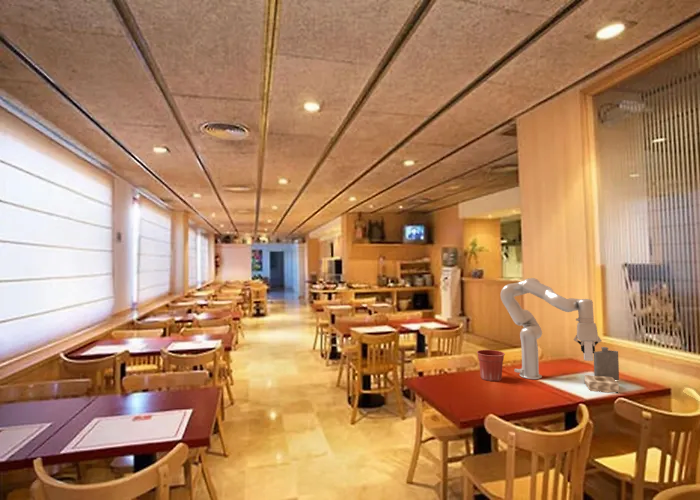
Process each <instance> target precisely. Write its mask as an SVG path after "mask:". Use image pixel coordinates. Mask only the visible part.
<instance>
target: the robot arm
mask: <svg viewBox="0 0 700 500" xmlns="http://www.w3.org/2000/svg"><path fill="white" fill-rule="evenodd" d="M499 294H500V301H501V302H502V304H503V306H504V307H505V309H506V311H507V313H509V317H511V319H512V321H513V322H514V324H515V325H517V326H522V327H523V328H521V330H520V332H519V337H520V343H521V344H520V345H521V367H520V368H514V373H517V374H518V373H519V376H520V377H521V378H523V379H527V380H540V379H542V377H543V376H542V374H540V372H539V371H540V370H539V366H540V364H539V347H538V339H540V338H541V337H542V334H543V329H542V327H541V325H540V323H538V321H537V319H536V318H535V316H534V315H533V313H532V312H531V311H530V310H527V309H523V308H522V306H521V305H520V303H519V302H518V300H517V299H516V298H515V297H518V296H523V295H525V294H531V295H534V296H535V297H537V298H540V300H541V299H542V300H543V301H545V302H546V303H547V304H549V305H550V306H552V307H554V308H556V309H558V310H561V311H563V312H565V313H571V312H575V311H577V314H578V317H577V318H575V321H576V322H577V324H576V335H575V336H574V338H573V341H574V342H576V343H578V344H579V345H580V351H581V352H582V353H583V354H584V345H583V343H584V341H592V349H593V354H594V352H596V348H595V347H596V346H597V344H599V343H601V342H602V339H601V337H600V336H599V334H598V327H597V324H596V322H595V320H594V319H595V318H594V317H595V316H594V302H593V300H592V299H590V298H589V299H588V298H573V297H572V298H571V297H570V298H566V297H563V296H562V295H560V294H558V293H556V292H555V291H554V289H553V288H552V287H550V286H548V285H546V284H544V283H541V282H540V280H539V279H537V278H534V277H531V278H526V279H523V280H521V281H519V282H514V283H508V284H506V285H504V286H503V287H502V288H501V291H500V293H499Z"/></svg>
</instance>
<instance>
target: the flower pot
mask: <svg viewBox="0 0 700 500" xmlns="http://www.w3.org/2000/svg"><path fill="white" fill-rule="evenodd" d="M476 354H477V359H478V362H479V363H478V364H479V373H480V378H481V379H482V380H484V381H488V382H493V381H495V382H499V381H501V380H502V376H503V364H504V359H505V358H504V357H505V354H506V353H505V352H503V351H499V350H495V349H480V350H477V351H476Z"/></svg>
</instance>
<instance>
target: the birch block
mask: <svg viewBox="0 0 700 500" xmlns="http://www.w3.org/2000/svg"><path fill="white" fill-rule="evenodd" d="M584 384H586V385H585V386H586V388H587V387H588V388H587V389H588V391H589V390H590V391H589V392H598V391H599V392H600V391H601V392H600V393H609V392H618V393H617V394H620V384H619V383H618V381H615V380H614V379H613V378H612V377H604V376H594V375H592V374H591V375H588V374H584ZM599 392H598V393H599Z"/></svg>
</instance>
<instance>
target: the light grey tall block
mask: <svg viewBox="0 0 700 500" xmlns="http://www.w3.org/2000/svg"><path fill="white" fill-rule="evenodd" d="M583 345H584V353H583V360H584V361H588V362H589V361H590V362H594V353H593V349H592V341H584V343H583Z"/></svg>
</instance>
